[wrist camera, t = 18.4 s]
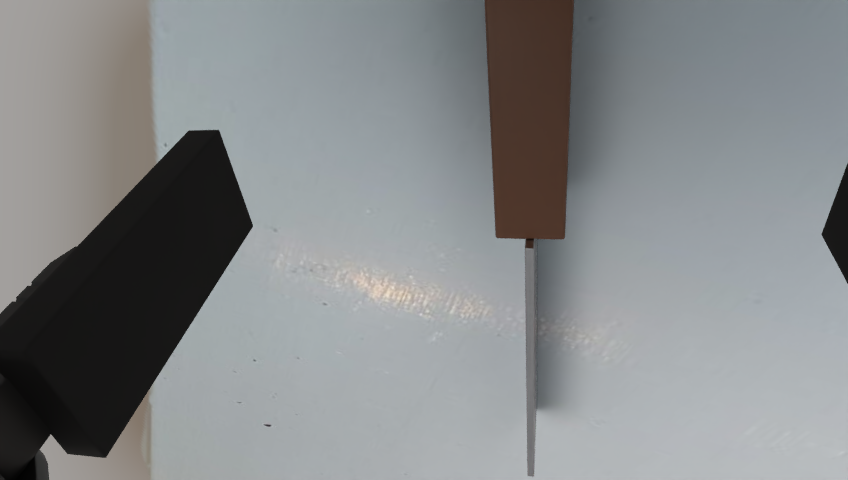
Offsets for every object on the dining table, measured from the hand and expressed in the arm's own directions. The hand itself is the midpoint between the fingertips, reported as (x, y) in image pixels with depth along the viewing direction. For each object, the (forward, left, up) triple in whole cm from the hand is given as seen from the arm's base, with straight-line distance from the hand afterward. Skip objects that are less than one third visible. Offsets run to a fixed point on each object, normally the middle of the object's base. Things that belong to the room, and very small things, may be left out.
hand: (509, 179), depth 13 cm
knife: (+8, 0, -9) cm, 12 cm away
